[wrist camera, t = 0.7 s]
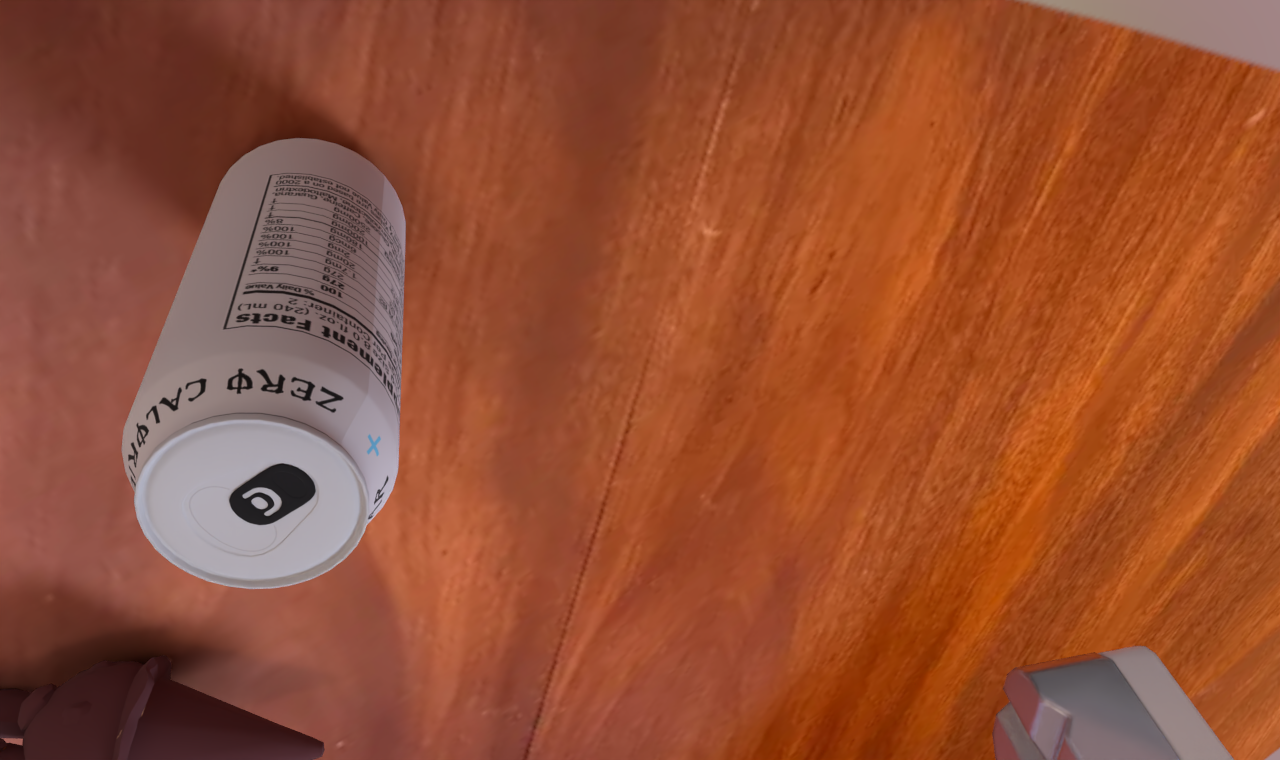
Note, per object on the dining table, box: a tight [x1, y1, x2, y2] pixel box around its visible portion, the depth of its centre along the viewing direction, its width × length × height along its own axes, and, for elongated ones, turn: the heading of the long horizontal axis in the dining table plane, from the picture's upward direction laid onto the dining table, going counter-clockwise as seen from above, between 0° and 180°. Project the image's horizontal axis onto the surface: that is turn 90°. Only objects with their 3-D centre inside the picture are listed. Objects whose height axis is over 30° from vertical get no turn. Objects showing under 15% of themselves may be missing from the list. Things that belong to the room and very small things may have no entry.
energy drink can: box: [122, 138, 406, 589], centre depth 29 cm, size 6×6×15 cm
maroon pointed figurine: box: [0, 655, 324, 760], centre depth 43 cm, size 7×7×15 cm
